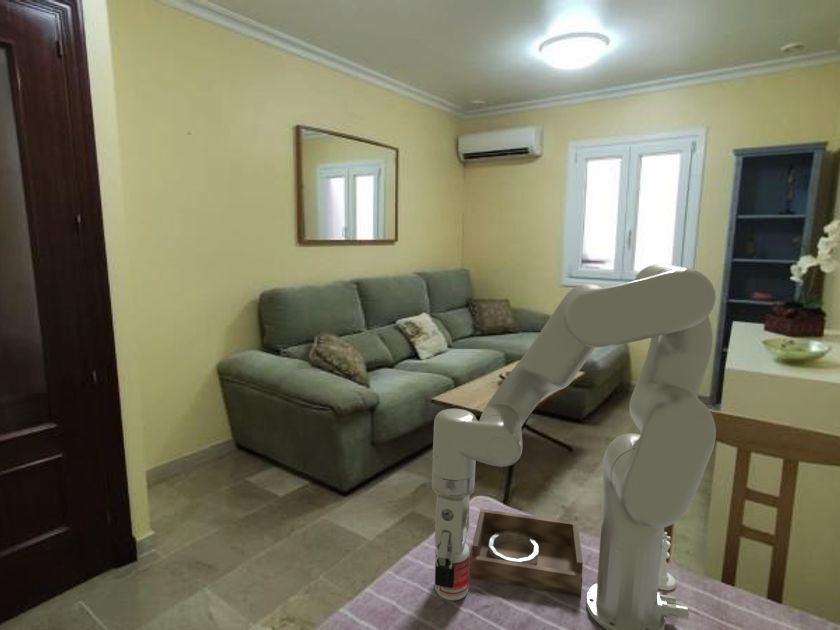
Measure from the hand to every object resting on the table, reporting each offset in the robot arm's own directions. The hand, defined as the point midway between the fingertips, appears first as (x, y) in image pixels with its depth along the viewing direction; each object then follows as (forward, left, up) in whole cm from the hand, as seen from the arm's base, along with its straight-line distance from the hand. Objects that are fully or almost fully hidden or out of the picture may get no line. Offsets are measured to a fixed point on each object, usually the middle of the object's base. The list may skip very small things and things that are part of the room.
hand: (449, 567), depth 88 cm
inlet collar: (-11, -12, -5) cm, 17 cm away
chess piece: (-39, -12, -5) cm, 41 cm away
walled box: (-14, -11, -5) cm, 18 cm away
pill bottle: (-1, 0, -5) cm, 5 cm away
